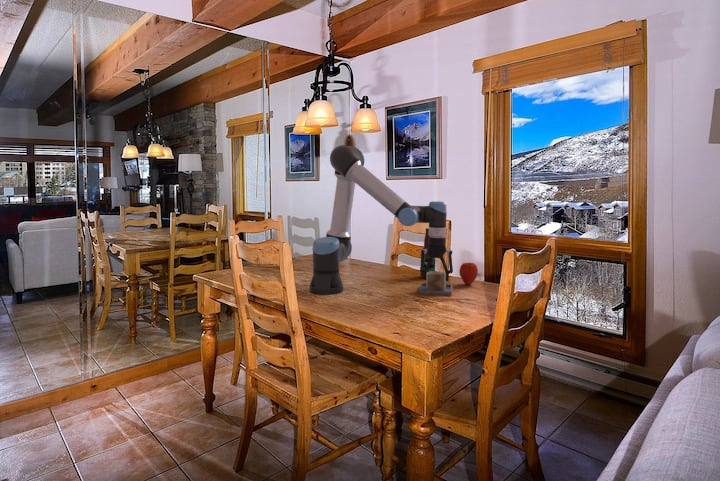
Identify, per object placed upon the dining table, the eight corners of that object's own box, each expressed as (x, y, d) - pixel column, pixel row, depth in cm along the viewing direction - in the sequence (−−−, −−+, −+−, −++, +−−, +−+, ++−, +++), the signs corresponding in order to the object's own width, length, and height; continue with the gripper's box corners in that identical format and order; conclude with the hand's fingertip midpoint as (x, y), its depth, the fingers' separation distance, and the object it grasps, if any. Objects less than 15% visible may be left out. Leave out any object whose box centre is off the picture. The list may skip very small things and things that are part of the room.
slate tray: (418, 293, 201) (418, 289, 201) (421, 286, 214) (421, 282, 214) (451, 295, 198) (451, 291, 198) (452, 288, 211) (452, 284, 211)
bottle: (418, 278, 233) (419, 228, 229) (423, 275, 239) (423, 227, 236) (432, 279, 230) (433, 229, 226) (436, 276, 236) (437, 228, 233)
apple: (466, 287, 213) (466, 264, 211) (455, 283, 221) (455, 261, 219) (481, 285, 216) (482, 262, 215) (469, 281, 224) (470, 260, 223)
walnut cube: (427, 289, 203) (427, 274, 203) (428, 286, 210) (429, 271, 209) (443, 290, 202) (443, 274, 201) (444, 287, 209) (444, 271, 208)
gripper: (413, 237, 201) (412, 288, 205) (460, 238, 197) (458, 290, 200) (415, 235, 209) (414, 284, 212) (460, 236, 204) (458, 287, 207)
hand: (435, 287), depth 206 cm, fingers closed on walnut cube, 7 cm apart
